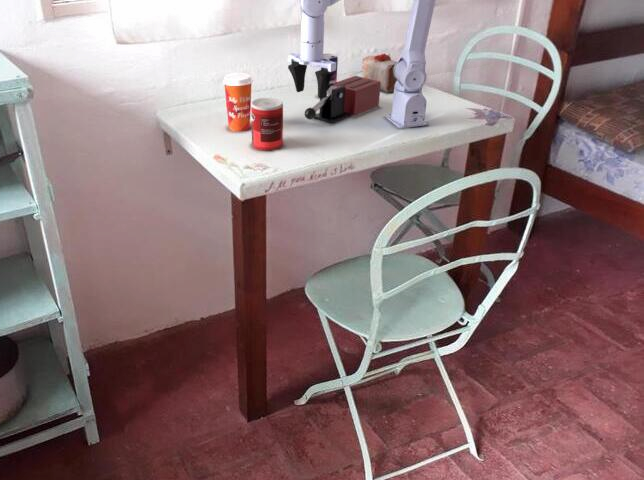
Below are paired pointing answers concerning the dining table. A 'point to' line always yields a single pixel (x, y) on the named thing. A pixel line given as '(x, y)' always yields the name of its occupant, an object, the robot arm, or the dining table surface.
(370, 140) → the dining table surface
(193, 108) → the dining table surface
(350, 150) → the dining table surface
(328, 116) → the lever bracket
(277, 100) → the canned food
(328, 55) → the energy drink
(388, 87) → the food item
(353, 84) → the toaster
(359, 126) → the dining table surface
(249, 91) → the paper cup
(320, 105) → the toaster lever
